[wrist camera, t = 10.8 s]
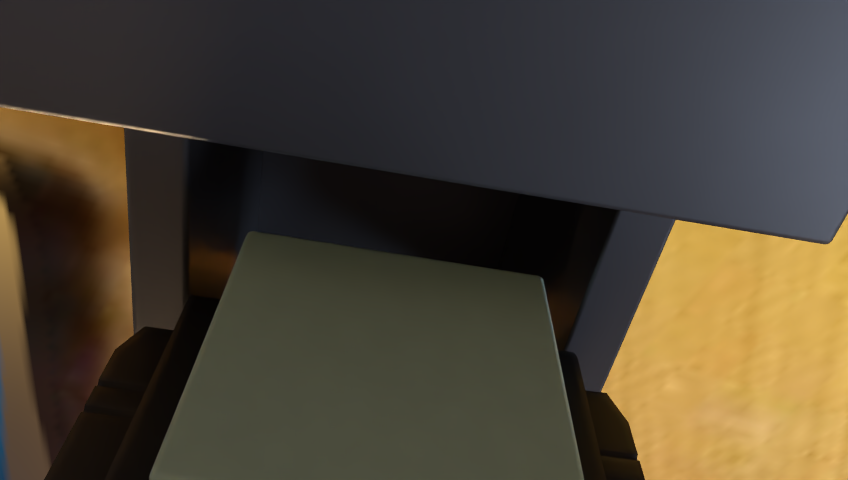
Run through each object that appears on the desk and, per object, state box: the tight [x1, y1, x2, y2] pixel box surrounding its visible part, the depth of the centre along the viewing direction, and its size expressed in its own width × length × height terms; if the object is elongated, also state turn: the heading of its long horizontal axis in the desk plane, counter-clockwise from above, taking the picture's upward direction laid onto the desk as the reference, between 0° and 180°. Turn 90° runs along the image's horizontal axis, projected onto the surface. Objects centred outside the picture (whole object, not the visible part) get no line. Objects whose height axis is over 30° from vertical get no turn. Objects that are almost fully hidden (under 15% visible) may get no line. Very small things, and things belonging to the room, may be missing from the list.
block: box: [149, 231, 584, 480], centre depth 9 cm, size 4×4×4 cm
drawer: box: [124, 128, 676, 392], centre depth 14 cm, size 16×8×7 cm, turn 170°
